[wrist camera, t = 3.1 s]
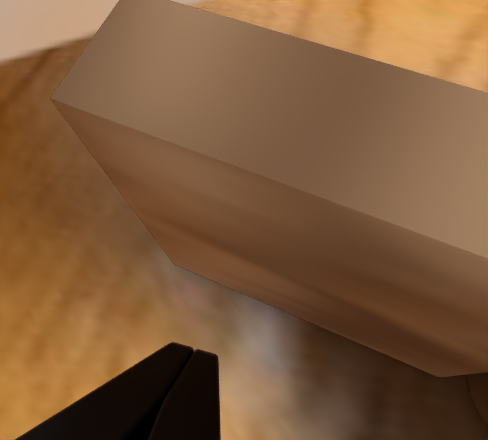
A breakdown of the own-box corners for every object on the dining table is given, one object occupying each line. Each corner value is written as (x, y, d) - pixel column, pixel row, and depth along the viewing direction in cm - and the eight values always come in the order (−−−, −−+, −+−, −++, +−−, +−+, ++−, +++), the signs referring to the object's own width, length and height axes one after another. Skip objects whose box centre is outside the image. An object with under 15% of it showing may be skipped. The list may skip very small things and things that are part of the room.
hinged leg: (471, 308, 14) (775, 177, 5) (451, 383, 13) (770, 361, 5) (204, 204, 16) (127, -12, 7) (174, 263, 15) (49, 98, 7)
